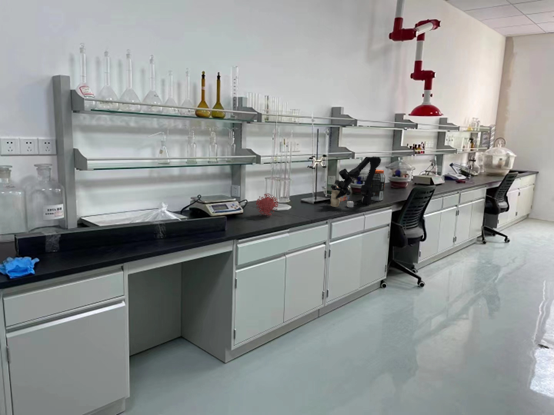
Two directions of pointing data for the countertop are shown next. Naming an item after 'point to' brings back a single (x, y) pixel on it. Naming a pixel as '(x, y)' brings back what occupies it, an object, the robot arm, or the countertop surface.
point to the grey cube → (350, 204)
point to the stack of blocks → (344, 197)
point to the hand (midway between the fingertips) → (334, 197)
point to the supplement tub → (378, 185)
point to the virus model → (267, 204)
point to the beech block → (333, 199)
